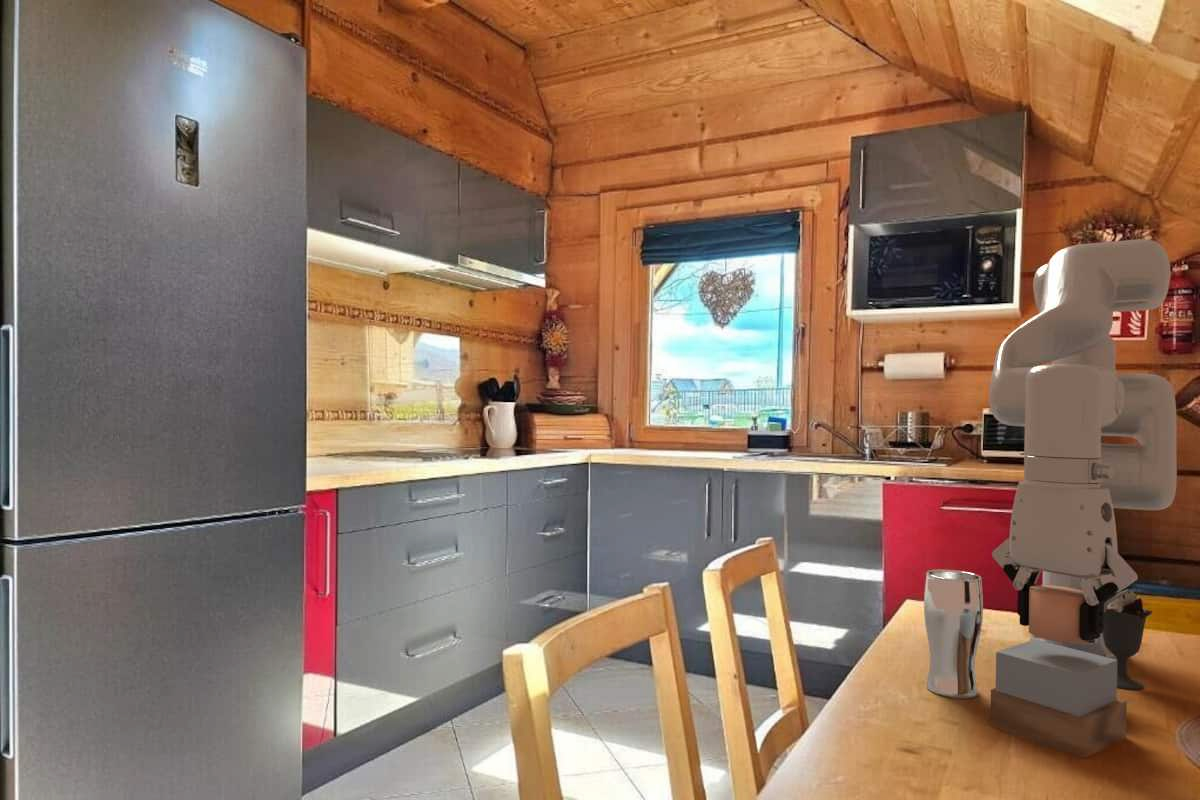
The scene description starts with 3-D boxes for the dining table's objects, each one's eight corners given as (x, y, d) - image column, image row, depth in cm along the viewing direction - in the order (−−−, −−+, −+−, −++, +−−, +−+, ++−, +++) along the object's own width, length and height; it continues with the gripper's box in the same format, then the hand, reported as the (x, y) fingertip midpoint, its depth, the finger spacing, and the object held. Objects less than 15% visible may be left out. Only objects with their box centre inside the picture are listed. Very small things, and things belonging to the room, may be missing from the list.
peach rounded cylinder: (1045, 625, 94) (1045, 583, 94) (1099, 638, 89) (1100, 593, 89) (1018, 632, 90) (1019, 588, 90) (1073, 646, 85) (1074, 600, 86)
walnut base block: (1035, 711, 97) (1036, 674, 97) (1125, 741, 88) (1126, 700, 88) (990, 728, 91) (990, 689, 91) (1082, 762, 83) (1082, 719, 83)
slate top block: (1034, 676, 96) (1035, 639, 96) (1116, 699, 89) (1117, 659, 89) (995, 690, 91) (996, 651, 91) (1079, 717, 83) (1080, 674, 83)
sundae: (1095, 671, 111) (1096, 564, 111) (1153, 682, 106) (1155, 571, 106) (1087, 683, 106) (1089, 571, 106) (1148, 696, 101) (1150, 579, 101)
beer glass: (988, 702, 98) (990, 582, 98) (928, 697, 100) (930, 578, 100) (973, 683, 105) (975, 570, 105) (918, 678, 106) (919, 567, 106)
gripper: (1162, 478, 85) (1160, 646, 85) (1005, 466, 99) (1003, 610, 99) (1130, 480, 81) (1127, 657, 80) (971, 467, 95) (968, 617, 95)
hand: (1058, 629), depth 90 cm, fingers closed on peach rounded cylinder, 6 cm apart
